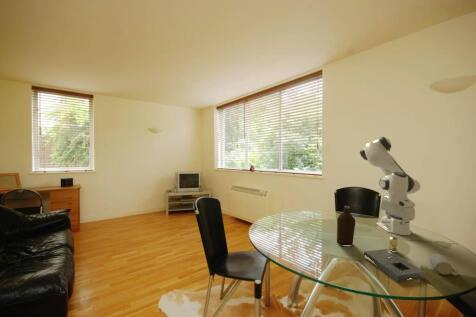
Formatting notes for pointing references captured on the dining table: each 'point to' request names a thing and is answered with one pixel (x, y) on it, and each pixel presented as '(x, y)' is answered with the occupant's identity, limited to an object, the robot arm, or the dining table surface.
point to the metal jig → (394, 265)
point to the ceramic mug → (442, 265)
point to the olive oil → (345, 227)
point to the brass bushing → (393, 243)
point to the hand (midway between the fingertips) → (395, 221)
